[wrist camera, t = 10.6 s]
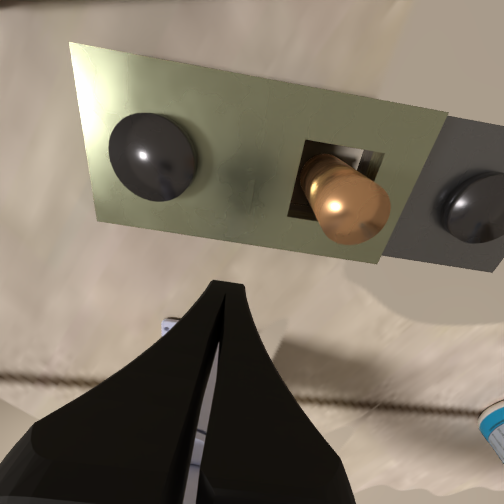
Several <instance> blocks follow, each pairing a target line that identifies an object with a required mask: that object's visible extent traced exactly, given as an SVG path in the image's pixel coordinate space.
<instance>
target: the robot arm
mask: <svg viewBox="0 0 504 504" xmlns="http://www.w3.org/2000/svg"><path fill="white" fill-rule="evenodd" d="M161 325H162V337H161V338H160V339H159V340H158V341H157V342H156V343H154V344H153V345H152V346H151V347H150V348H148V349H147V350H146V351H145V352H143V353H142V354H141V355H140V356H138V357H137V358H136V359H134V360H133V361H132V362H130V363H129V364H128V365H126V366H125V367H124V368H122V369H121V370H119V371H118V372H116V373H115V374H113V375H112V376H110V377H109V378H107V379H106V380H104V381H103V382H101V383H100V384H99V385H97V386H96V387H94V388H93V389H91V390H89V391H88V392H86V393H85V394H83V395H81V396H80V397H78V398H76V399H75V400H73V401H71V402H70V403H68V404H66V405H64V406H63V407H61V408H59V409H58V410H56V411H54V412H53V413H51V414H49V415H47V416H46V417H44V418H42V419H41V420H39V421H37V422H35V423H34V424H33V425H32V426H31V427H30V429H29V430H28V431H27V432H26V433H25V434H24V436H23V437H22V438H21V439H20V440H19V441H18V442H17V443H16V444H15V446H14V447H13V448H12V449H11V451H10V452H9V453H8V454H7V455H6V457H5V458H4V459H3V461H2V462H1V463H0V504H356V502H355V499H354V495H353V492H352V489H351V486H350V483H349V480H348V477H347V474H346V472H345V469H344V466H343V464H342V461H341V459H340V457H339V456H338V455H337V454H336V452H335V451H334V450H333V449H332V448H331V446H330V445H329V444H328V443H327V442H326V440H325V439H324V438H323V436H322V435H321V434H320V433H319V431H318V430H317V429H316V427H315V426H314V425H313V424H312V422H311V421H310V419H309V418H308V417H307V415H306V414H305V413H304V411H303V410H302V408H301V407H300V406H299V404H298V403H297V401H296V400H295V398H294V397H293V395H292V394H291V392H290V391H289V389H288V388H287V386H286V384H285V383H284V381H283V380H282V378H281V377H280V375H279V373H278V371H277V370H276V368H275V366H274V365H273V363H272V361H271V359H270V357H269V355H268V353H267V351H266V349H265V347H264V345H263V343H262V341H261V338H260V336H259V334H258V331H257V329H256V326H255V324H254V321H253V318H252V315H251V312H250V309H249V305H248V302H247V298H246V292H245V286H244V285H243V284H238V283H231V282H224V281H218V280H213V281H211V282H210V283H209V285H208V287H207V288H206V290H205V291H204V292H203V294H202V295H201V296H200V298H199V299H198V300H197V301H196V302H195V304H194V305H193V306H192V307H191V308H190V309H189V311H188V312H187V313H186V314H185V315H184V316H183V317H182V318H181V319H180V320H174V319H164V320H163V321H162V324H161ZM167 327H168V328H167Z"/></svg>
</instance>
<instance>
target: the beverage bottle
mask: <svg viewBox="0 0 504 504" xmlns="http://www.w3.org/2000/svg"><path fill="white" fill-rule="evenodd" d="M478 428H479V430H480V431H481V433H482V434H483V436H484V437H485V439H486V440H487V441H488V442H489V443H490V445H491V446H492V448H493V449H494V450H495V452H496V453H497V455H498V456H499V458H500V459H501V461H502V462H503V464H504V401H501V402H498V403H496V404H494V405H492V406H490V407H489V408H487V409H486V410H485V411H484V412H483V413H482V414H481V415H480V417H479V419H478Z"/></svg>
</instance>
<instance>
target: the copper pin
mask: <svg viewBox="0 0 504 504" xmlns="http://www.w3.org/2000/svg"><path fill="white" fill-rule="evenodd" d="M300 184H301V187H302V189H303V191H304V193H305V195H306V197H307V199H308V201H309V203H310V205H311V207H312V210H313V212H314V214H315V216H316V218H317V220H318V222H319V224H320V226H321V228H322V230H323V232H324V233H325V235H326V236H327V237H328V238H329V239H331V240H332V241H334V242H336V243H339V244H343V245H355V244H360V243H363V242H365V241H368V240H369V239H371V238H373V237H374V236H375V235H377V234H378V233H379V232H380V231H381V230H382V229H383V227H384V226H385V224H386V223H387V221H388V218H389V215H390V210H391V203H390V199H389V196H388V194H387V193H386V191H385V190H384V189H383V188H382V187H381V186H379V185H378V184H376V183H375V182H373V181H372V180H370V179H369V178H367V177H366V176H364V175H363V174H361V173H360V172H358V171H357V170H355V169H354V168H352V167H351V166H349V165H348V164H346V163H345V162H343V161H342V160H340V159H339V158H337V157H336V156H334V155H331V154H319V155H316V156H314V157H312V158H311V159H309V160H308V161H307V162H306V163H305V165H304V166H303V168H302V170H301V173H300Z"/></svg>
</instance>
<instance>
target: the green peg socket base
mask: <svg viewBox="0 0 504 504" xmlns="http://www.w3.org/2000/svg"><path fill="white" fill-rule="evenodd" d="M69 46H70V52H71V58H72V65H73V71H74V77H75V84H76V90H77V96H78V103H79V109H80V116H81V122H82V128H83V135H84V141H85V147H86V154H87V160H88V166H89V173H90V179H91V185H92V192H93V198H94V204H95V211H96V217H97V221H99V222H106V223H112V224H119V225H125V226H132V227H138V228H145V229H151V230H158V231H164V232H171V233H177V234H184V235H190V236H197V237H203V238H210V239H216V240H223V241H229V242H236V243H242V244H249V245H255V246H262V247H268V248H275V249H281V250H288V251H294V252H301V253H307V254H314V255H320V256H327V257H333V258H340V259H346V260H353V261H359V262H366V263H372V264H377V263H378V261H379V259H380V257H381V255H383V256H389V257H395V258H402V259H408V260H414V261H421V262H427V263H434V264H440V265H447V266H453V267H460V268H466V269H472V270H479V271H485V272H491V273H492V272H493V271H494V270H495V269H496V267H497V266H498V265H499V263H500V262H501V261H502V259H503V258H504V126H500V125H495V124H489V123H484V122H478V121H473V120H468V119H462V118H457V117H452V116H447V115H448V112H443V111H437V110H433V109H427V108H422V107H416V106H411V105H405V104H400V103H395V102H390V101H383V100H379V99H373V98H368V97H363V96H357V95H352V94H346V93H341V92H336V91H330V90H325V89H320V88H314V87H309V86H303V85H298V84H293V83H287V82H282V81H276V80H271V79H266V78H260V77H255V76H250V75H244V74H239V73H233V72H228V71H223V70H217V69H212V68H206V67H201V66H196V65H190V64H185V63H180V62H174V61H169V60H163V59H158V58H153V57H147V56H142V55H136V54H131V53H126V52H120V51H115V50H110V49H104V48H99V47H93V46H88V45H83V44H77V43H72V42H69ZM305 139H306V140H312V141H318V142H323V143H329V144H335V145H340V146H346V147H352V148H357V149H363V150H364V151H363V154H362V157H361V160H360V163H359V166H358V168H357V171H358V172H360V173H361V174H363V175H364V176H366V177H367V178H369V179H370V180H372V181H373V182H375V183H376V184H378V185H379V186H381V187H382V188H383V189H384V190H385V191H386V193H387V194H388V196H389V199H390V203H391V210H390V215H389V218H388V221H387V223H386V224H385V226H384V227H383V229H382V230H381V231H380V232H379V233H378V234H377V235H375V236H374V237H373V238H371V239H369V240H368V241H365V242H363V243H360V244H355V245H343V244H339V243H336V242H334V241H332V240H331V239H329V238H328V237H327V236H326V235H325V233H324V232H323V230H322V228H321V226H320V224H319V222H318V220H317V218H316V216H315V214H314V212H313V210H312V207H311V206H306V205H300V204H294V203H290V201H291V197H292V193H293V189H294V185H295V180H296V176H297V172H298V168H299V164H300V159H301V155H302V151H303V147H304V143H305Z"/></svg>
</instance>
